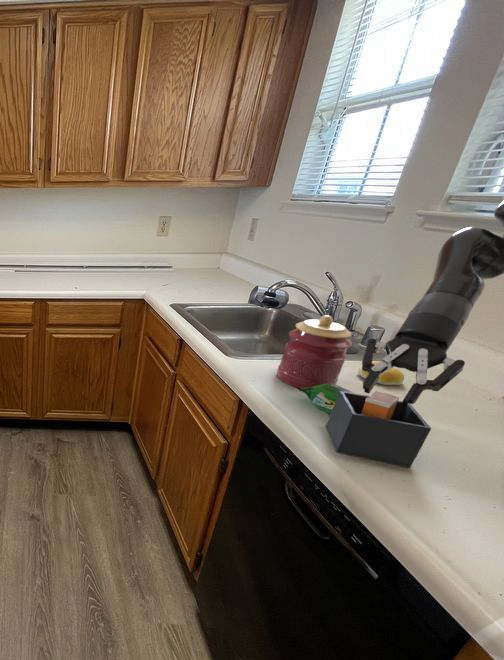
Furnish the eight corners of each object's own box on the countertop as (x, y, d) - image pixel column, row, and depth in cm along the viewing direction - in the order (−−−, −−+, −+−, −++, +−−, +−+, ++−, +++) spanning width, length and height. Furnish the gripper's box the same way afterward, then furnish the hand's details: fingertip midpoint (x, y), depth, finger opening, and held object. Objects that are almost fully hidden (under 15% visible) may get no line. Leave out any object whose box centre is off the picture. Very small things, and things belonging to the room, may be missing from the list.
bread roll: (394, 389, 104) (401, 375, 102) (352, 376, 111) (358, 362, 109) (407, 381, 108) (414, 367, 106) (366, 369, 115) (372, 356, 113)
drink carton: (382, 442, 82) (399, 396, 78) (372, 451, 79) (390, 404, 75) (359, 434, 85) (375, 390, 81) (350, 443, 82) (366, 397, 78)
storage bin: (391, 439, 84) (409, 402, 81) (410, 468, 76) (431, 428, 72) (325, 426, 89) (339, 390, 85) (336, 452, 80) (353, 414, 77)
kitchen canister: (298, 367, 116) (319, 305, 108) (347, 387, 105) (374, 320, 97) (264, 374, 112) (283, 310, 104) (311, 395, 101) (337, 326, 93)
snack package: (314, 394, 102) (321, 375, 99) (386, 427, 88) (396, 406, 86) (293, 399, 99) (300, 380, 97) (364, 434, 86) (374, 412, 84)
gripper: (484, 345, 75) (434, 422, 74) (384, 323, 85) (340, 390, 84) (493, 322, 70) (440, 404, 69) (386, 302, 80) (338, 373, 79)
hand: (385, 396), depth 76 cm, fingers open, 5 cm apart
